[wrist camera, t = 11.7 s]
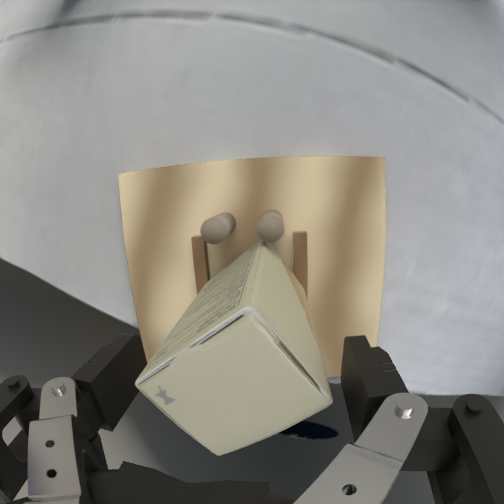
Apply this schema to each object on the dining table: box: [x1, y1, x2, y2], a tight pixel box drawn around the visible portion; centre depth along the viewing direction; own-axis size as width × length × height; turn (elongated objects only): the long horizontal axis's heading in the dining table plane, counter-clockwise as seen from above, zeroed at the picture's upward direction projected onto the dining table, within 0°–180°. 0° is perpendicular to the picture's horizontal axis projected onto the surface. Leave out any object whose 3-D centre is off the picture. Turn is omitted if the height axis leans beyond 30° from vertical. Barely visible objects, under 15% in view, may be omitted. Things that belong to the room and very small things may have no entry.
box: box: [135, 240, 332, 455], centre depth 13 cm, size 5×4×11 cm
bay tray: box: [119, 156, 386, 378], centre depth 19 cm, size 18×16×5 cm
